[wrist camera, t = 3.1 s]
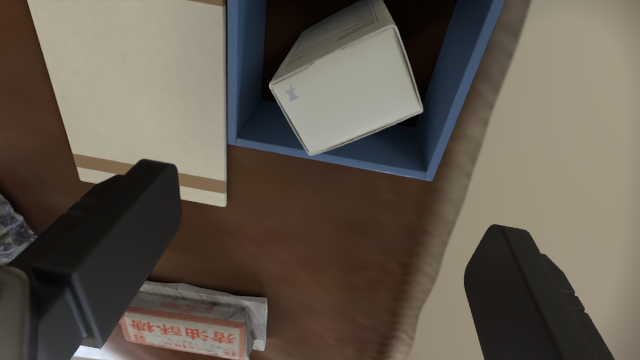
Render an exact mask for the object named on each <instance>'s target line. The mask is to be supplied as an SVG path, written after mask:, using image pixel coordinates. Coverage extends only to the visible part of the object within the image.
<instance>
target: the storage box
mask: <svg viewBox="0 0 640 360" xmlns="http://www.w3.org/2000/svg"><path fill="white" fill-rule="evenodd" d="M504 1H505V0H457V2H456V5H455V8H454V11H453V14H452V17H451V20H450V23H449V26H448V29H447V32H446V35H445V38H444V41H443V44H442V47H441V50H440V53H439V56H438V59H437V62H436V65H435V68H434V71H433V74H432V77H431V80H430V83H429V86H428V89H427V92H426V95H425V98H424V101H423V104H422V106H423V112H422V113H419V116H418V119H417V122H416V125H415V128H414V127H408V126H403V125H397V124H394V125H392V126H389V127H387V128H384V129H382V130H380V131H377V132H375V133H372V134H370V135H367V136H365V137H362V138H360V139H357V140H355V141H353V142H350V143H347V144H345V145H342V146H339V147H337V148H334V149H331V150H328V151H325V152H323V153H319V154H316V155H313V156H310V155H308V153H307V152H306V150H305V148H304V147H303V145H302V144H301V142H300V141H299V139H298V138H297V136H296V134H295V132H294V131H293V129H292V127H291V125H290V124H289V122H288V120H287V118H286V117H285V115H284V113H283V111H282V109H281V107H280V106H279V104H278V103H276V102H271V101H265V100H261V96H262V77H263V59H264V40H265V22H266V4H267V0H227V12H228V144H232V145H237V146H243V147H248V148H254V149H259V150H265V151H270V152H275V153H281V154H286V155H292V156H297V157H303V158H308V159H314V160H319V161H325V162H330V163H336V164H341V165H347V166H352V167H358V168H363V169H369V170H374V171H379V172H385V173H390V174H396V175H401V176H407V177H412V178H418V179H424V180H429V181H432V180H433V177H434V175H435V172H436V170H437V167H438V165H439V163H440V160H441V158H442V155H443V153H444V150H445V148H446V145H447V143H448V140H449V138H450V135H451V133H452V130H453V128H454V125H455V123H456V120H457V118H458V115H459V113H460V110H461V108H462V105H463V103H464V100H465V98H466V95H467V93H468V90H469V88H470V85H471V83H472V81H473V78H474V76H475V73H476V71H477V68H478V66H479V63H480V61H481V58H482V56H483V53H484V51H485V48H486V46H487V43H488V41H489V38H490V36H491V33H492V31H493V28H494V26H495V23H496V21H497V18H498V16H499V13H500V11H501V8H502V6H503V3H504Z"/></svg>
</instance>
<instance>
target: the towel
mask: <svg viewBox="0 0 640 360" xmlns="http://www.w3.org/2000/svg"><path fill="white" fill-rule="evenodd" d="M27 1H28V4H29V8H30V11H31V15H32V18H33V21H34V25H35V28H36V31H37V35H38V38H39V42H40V45H41V48H42V52H43V55H44V58H45V62H46V65H47V69H48V72H49V75H50V79H51V82H52V85H53V89H54V92H55V96H56V99H57V102H58V106H59V109H60V113H61V116H62V119H63V123H64V126H65V129H66V133H67V136H68V140H69V143H70V146H71V150H72V154H73V157H74V161H75V164H76V167H77V170H78V173H79V177H80V180H81V181H86V182H91V183H97V184H98V183H100V182H102V181H104V180H106V179H108V178H110V177H112V176H115V175H117V174H120V175H125V174H126V173H127V172H128V171H129V170H130V169H131V168H132V167H133V166H134V165H135V164H136V163H137V162H138V161H139V160H141V159H144V158H145V159H151V160H156V161H161V162H167V163H172V164H175V165H176V167H177V170H178V177H179V186H180V196H181V199H184V200H189V201H195V202H200V203H206V204H211V205H216V206H222V207H225V206H226V204H227V175H226V13H225V0H27Z"/></svg>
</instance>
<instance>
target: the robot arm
mask: <svg viewBox="0 0 640 360" xmlns="http://www.w3.org/2000/svg"><path fill="white" fill-rule="evenodd" d="M181 217H182V206H181V196H180V186H179V177H178V170H177V167H176V165H175V164H172V163H167V162H161V161H156V160H151V159H145V158H144V159H141V160H139V161H138V162H137V163H136V164H135V165H134V166H133V167H132V168H131V169H130V170H129V171H128V172H127V173H126V174H125V175H120V174H117V175H115V176H112V177H110V178H108V179H106V180H104V181H102V182H100V183H98V184H96V185H95V186H94V187H93V188H92V189H90V190H89V191H88V192H87V193H86V194H85V195H84V196H83V197H82V198H80V202H76V203H75V204H74V205H73V206H72V207H70V208H69V209H68V210H67V213H66V214H63V215H62V216H60V217H59V218H58V219H57V220H56V221H55V222H54V223H53V224H52V225H50V226H49V227H48V228H47V229H46V230H45V231H44V232H43V233H42V234H40V235H39V236H38V237H37V238H36V239H35V240H34V241H33V242H32V243H30V244H29V245H28V246H27V247H26V248H25V249H24V250H23V251H22V252H20V253H19V254H18V255H17V256H16V257H15V258H14V259H13V260H12V261H10V262H9V263H8V264H7V265H6V266H0V360H70V359H71V358H72V356H73V355H74V353H75V352H76V351H77V349H78V348H79V346H80V345H83V346H88V347H93V348H99V349H101V348H102V347H103V345H104V344H105V342H106V341H107V339H108V337H109V336H110V334H111V333H112V331H113V330H114V328H115V327H116V325H117V324H118V322H119V321H120V319H121V317H122V316H123V314H124V313H125V311H126V310H127V308H128V307H129V305H130V304H131V302H132V301H133V299H134V298H135V296H136V294H137V293H138V291H139V290H140V288H141V287H142V285H143V284H144V282H145V281H146V279H147V278H148V276H149V275H150V273H151V271H152V270H153V268H154V267H155V265H156V264H157V262H158V261H159V259H160V258H161V256H162V255H163V253H164V251H165V250H166V248H167V247H168V245H169V244H170V242H171V241H172V239H173V238H174V236H175V235H176V233H177V231H178V228H179V226H180V222H181ZM464 287H465V292H466V295H467V299H468V303H469V306H470V309H471V313H472V317H473V320H474V324H475V328H476V331H477V334H478V338H479V342H480V346H481V349H482V353H483V356H484V360H615V359H614V358H613V356H612V354H611V352H610V351H609V349H608V347H607V345H606V344H605V342H604V340H603V339H602V337H601V335H600V334H599V332H598V330H597V328H596V327H595V325H594V324H593V322H592V320H591V318H590V317H589V315H588V314H587V313H585V312H584V310H585V308H584V306H583V305H582V303H581V301H580V300H579V298H578V297H577V296H575V291H574V289H573V288H572V286H571V284H570V283H569V281H568V279H567V278H566V276H565V274H564V273H563V272H562V271H561V270H560V269H559V268H558V267H557V266H556V265H555V264H554V263H553V262H552V261H551V260H550V259H549V258H548V257H547V256H546V255H545V254H541V253H540V251H539V249H538V247H537V246H536V244H535V242H534V240H533V238H532V237H531V235H530V233H529V232H528V231H526V230H523V229H518V228H513V227H507V226H501V225H496V224H493V225H491V226H490V227H489V228H488V229H487V231H486V232H485V234H484V236H483V238H482V240H481V241H480V243H479V245H478V246H477V248H476V250H475V252H474V254H473V255H472V257H471V259H470V261H469V262H468V264H467V267H466V269H465V274H464Z"/></svg>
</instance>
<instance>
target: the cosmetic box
mask: <svg viewBox="0 0 640 360" xmlns="http://www.w3.org/2000/svg"><path fill="white" fill-rule="evenodd" d="M269 88H270V89H271V91H272V93H273V95H274V96H275V98H276V100H277V102H278V104H279V106H280V107H281V109H282V111H283V113H284V115H285V117H286V118H287V120H288V122H289V124H290V125H291V127H292V129H293V131H294V132H295V134H296V136H297V138H298V139H299V141H300V142H301V144H302V145H303V147H304V148H305V150H306V152H307V153H308V155H310V156H313V155H316V154H319V153H323V152H325V151H328V150H331V149H334V148H337V147H339V146H342V145H345V144H347V143H350V142H353V141H355V140H357V139H360V138H362V137H365V136H367V135H370V134H372V133H375V132H377V131H380V130H382V129H384V128H387V127H389V126H392V125H394V124H396V123H399V122H401V121H403V120H406V119H408V118H410V117H412V116H415V115H417V114H419V113H422V112H423V106H422V103H421V99H420V96H419V92H418V89H417V85H416V82H415V79H414V76H413V72H412V69H411V66H410V63H409V60H408V57H407V54H406V51H405V48H404V45H403V43H402V40H401V37H400V34H399V31H398V28H397V26H396V25H395V23H394V21H393V19H392V17H391V15H390V13H389V11H388V9H387V7H386V5H385V4H384V2H383V0H360V1H358V2H356V3H354V4H352V5H350V6H348V7H346V8H344V9H342V10H340V11H338V12H337V13H335V14H333V15H331V16H329V17H327V18H325V19H323V20H322V21H320V22H318V23H316V24H315V25H313V26H311V27H309V28H308V29H306V30H304V31H303V32H302V33H301V35H300V36H299V38H298V39H297V41H296V42H295V44H294V46H293V47H292V49H291V50H290V52H289V54H288V55H287V57H286V58H285V60H284V61H283V63H282V64H281V66H280V67H279V69H278V71H277V72H276V74H275V75H274V77H273V79H272V80H271V82H270V83H269Z"/></svg>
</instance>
